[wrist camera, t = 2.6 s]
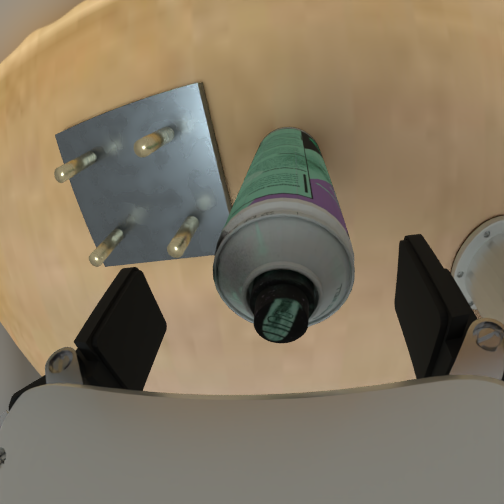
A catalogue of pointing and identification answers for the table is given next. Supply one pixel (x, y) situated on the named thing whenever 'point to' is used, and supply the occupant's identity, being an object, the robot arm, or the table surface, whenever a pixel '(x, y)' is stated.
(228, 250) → the spray can
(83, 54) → the table surface
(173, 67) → the table surface
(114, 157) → the post plate
